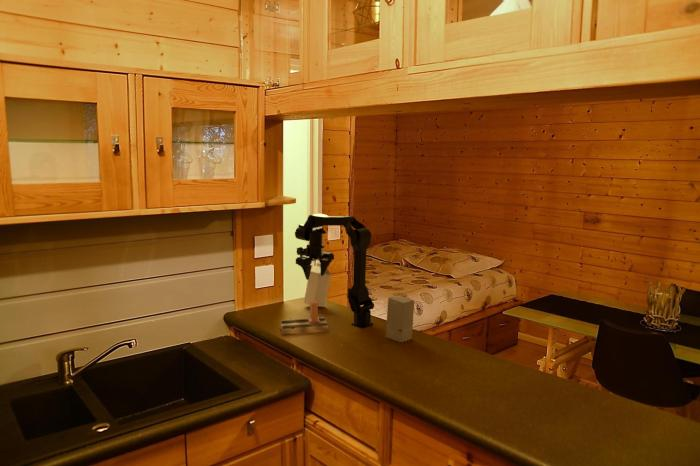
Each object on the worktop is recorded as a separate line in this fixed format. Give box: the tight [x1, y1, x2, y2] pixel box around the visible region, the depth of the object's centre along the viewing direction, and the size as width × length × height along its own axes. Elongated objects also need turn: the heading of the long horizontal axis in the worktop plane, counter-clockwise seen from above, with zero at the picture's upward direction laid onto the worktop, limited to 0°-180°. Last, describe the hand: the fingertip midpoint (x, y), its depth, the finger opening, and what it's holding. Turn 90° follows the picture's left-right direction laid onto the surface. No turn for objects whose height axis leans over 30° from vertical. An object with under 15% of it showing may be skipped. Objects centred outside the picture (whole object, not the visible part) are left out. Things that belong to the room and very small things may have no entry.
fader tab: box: [308, 300, 320, 323], centre depth 216 cm, size 4×5×9 cm
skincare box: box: [385, 295, 415, 343], centre depth 204 cm, size 8×7×16 cm
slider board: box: [280, 317, 329, 335], centre depth 216 cm, size 18×10×3 cm, turn 101°
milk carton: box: [303, 262, 332, 308], centre depth 245 cm, size 7×7×19 cm
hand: (314, 277), depth 236 cm, fingers open, 9 cm apart
